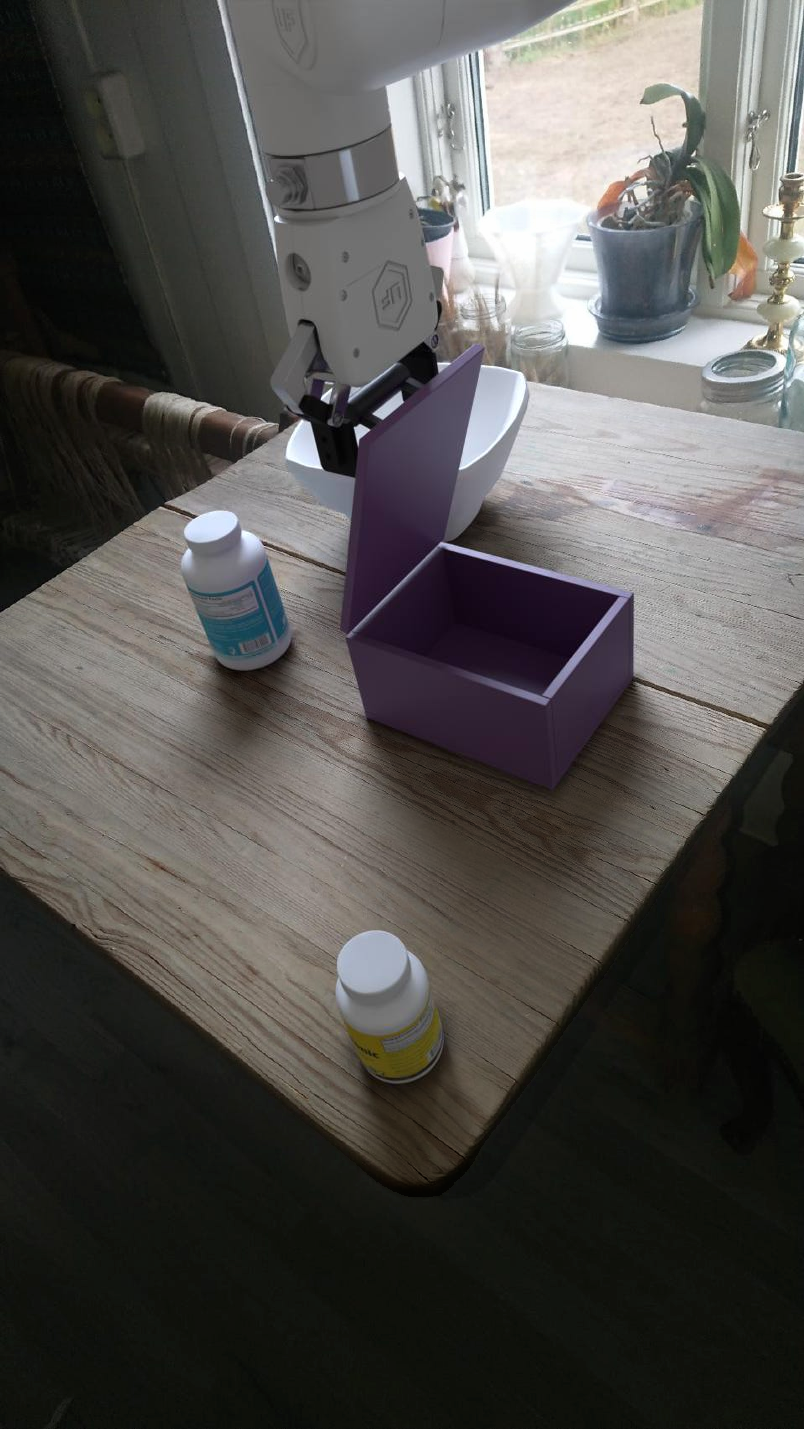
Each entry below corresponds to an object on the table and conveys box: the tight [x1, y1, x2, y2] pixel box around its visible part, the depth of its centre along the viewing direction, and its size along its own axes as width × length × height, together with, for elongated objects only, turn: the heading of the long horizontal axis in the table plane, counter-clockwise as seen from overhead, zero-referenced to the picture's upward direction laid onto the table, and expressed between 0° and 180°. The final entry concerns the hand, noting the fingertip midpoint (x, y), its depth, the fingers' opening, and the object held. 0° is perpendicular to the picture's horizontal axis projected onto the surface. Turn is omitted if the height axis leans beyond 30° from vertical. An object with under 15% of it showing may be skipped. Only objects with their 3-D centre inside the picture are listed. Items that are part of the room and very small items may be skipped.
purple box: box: [345, 542, 635, 791], centre depth 77 cm, size 18×14×9 cm
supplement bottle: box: [335, 930, 445, 1085], centre depth 57 cm, size 5×5×10 cm
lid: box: [339, 342, 485, 636], centre depth 71 cm, size 18×14×5 cm
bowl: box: [284, 362, 531, 543], centre depth 97 cm, size 22×22×12 cm
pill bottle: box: [180, 510, 292, 671], centre depth 86 cm, size 8×7×14 cm
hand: (384, 437), depth 68 cm, fingers open, 9 cm apart
